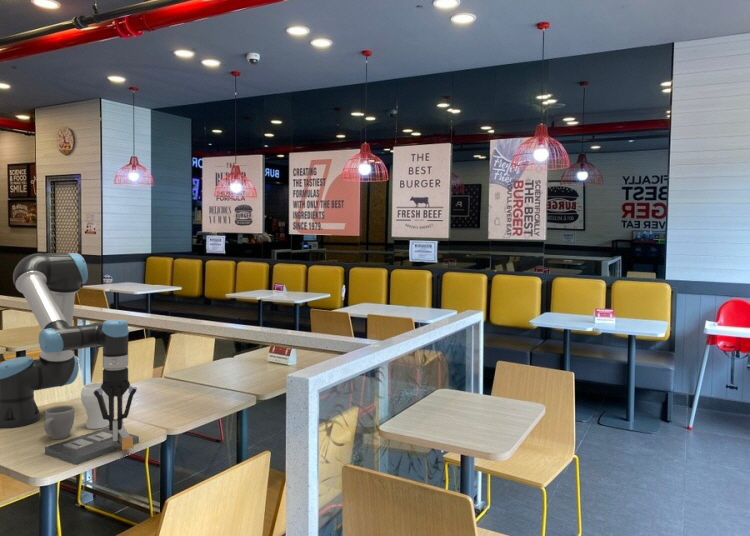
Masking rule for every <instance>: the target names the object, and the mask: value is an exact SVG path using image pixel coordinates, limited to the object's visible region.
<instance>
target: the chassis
mask: <svg viewBox="0 0 750 536" xmlns="http://www.w3.org/2000/svg"><path fill="white" fill-rule="evenodd" d="M128 434H129V436H132V437H133V445H135V444H138V443H140V436H139V435H135V434H133V433H129V432H128ZM118 449H119V450H122V449H121V444H120V442H119V440H118V441H113V432H112V430H111V431H110V430H109V427H104V428H100V429H97V430H95V431H92V432H88V433H85V434H83V435H82V434H81V435H80V436H77V437H73V438H70V439H66V440H63V441H60V442H58V443H53V444H52V445H48V446H45V447H44V454H45V455H48V456H51V457H53V458H56V459H59V460H61V461H64V462H68V463H72V464H73V465H79V464H81V463H85V462H87V461H90V460H93V459H96V458H98V457H97V456H99V457H101V456H100V455H102V456H104V455H103V454H105V455H107V454H110V453H112V451H113V452H115V450H116V451H118ZM109 452H110V453H109ZM106 453H107V454H106ZM95 457H96V458H95ZM92 458H93V459H92Z"/></svg>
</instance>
